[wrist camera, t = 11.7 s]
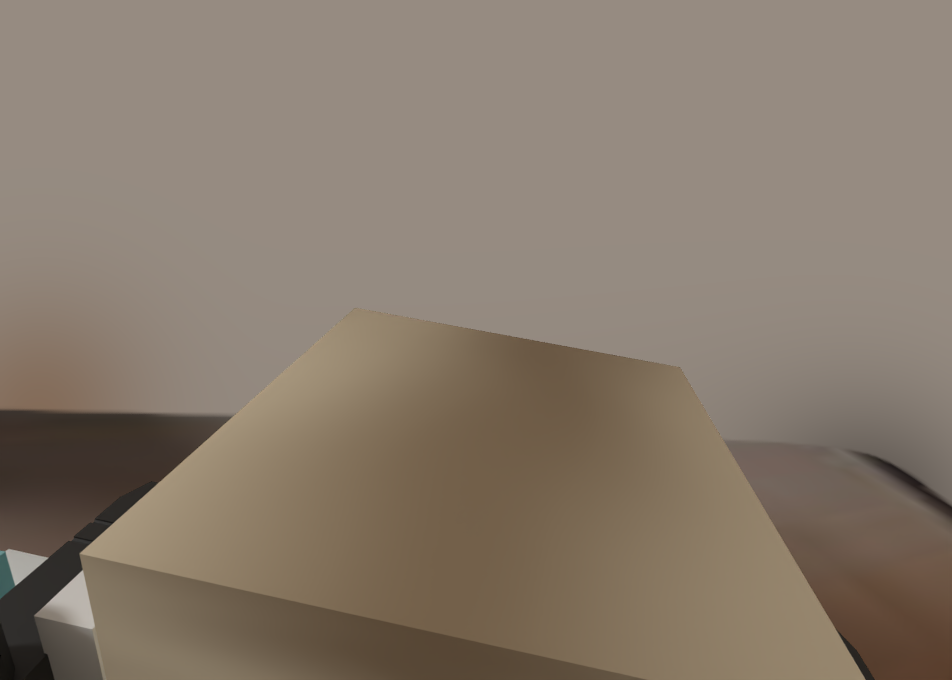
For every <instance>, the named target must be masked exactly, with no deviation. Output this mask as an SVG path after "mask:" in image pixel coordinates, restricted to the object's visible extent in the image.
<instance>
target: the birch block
mask: <svg viewBox="0 0 952 680" xmlns="http://www.w3.org/2000/svg"><path fill="white" fill-rule="evenodd" d="M80 559H81V563H82V568H83V573H84V577H85V582H86V587H87V591H88V596H89V601H90V605H91V610H92V615H93V619H94V624H95V629H96V633H97V638H98V643H99V647H100V652H101V656H102V661H103V666H104V670H105V675H106V680H866V679H865V678H864V676H863V674H862V673H861V671H860V669H859V668H858V666H857V664H856V663H855V661H854V659H853V658H852V656H851V654H850V653H849V651H848V649H847V647H846V646H845V644H844V642H843V641H842V639H841V637H840V636H839V634H838V632H837V631H836V629H835V627H834V626H833V624H832V622H831V621H830V619H829V617H828V616H827V614H826V612H825V610H824V609H823V607H822V605H821V604H820V602H819V600H818V599H817V597H816V595H815V594H814V592H813V590H812V589H811V587H810V585H809V584H808V582H807V580H806V579H805V577H804V575H803V573H802V572H801V570H800V568H799V567H798V565H797V563H796V562H795V560H794V558H793V557H792V555H791V553H790V552H789V550H788V548H787V547H786V545H785V543H784V542H783V540H782V538H781V536H780V535H779V533H778V531H777V530H776V528H775V526H774V525H773V523H772V521H771V520H770V518H769V516H768V515H767V513H766V511H765V510H764V508H763V506H762V505H761V503H760V501H759V499H758V498H757V496H756V494H755V493H754V491H753V489H752V488H751V486H750V484H749V483H748V481H747V479H746V478H745V476H744V474H743V473H742V471H741V469H740V468H739V466H738V464H737V462H736V461H735V459H734V457H733V456H732V454H731V452H730V451H729V449H728V447H727V446H726V444H725V442H724V441H723V439H722V437H721V436H720V434H719V432H718V431H717V429H716V427H715V426H714V424H713V422H712V420H711V419H710V417H709V416H708V414H707V412H706V410H705V409H704V407H703V405H702V404H701V402H700V400H699V399H698V397H697V395H696V394H695V392H694V390H693V388H692V387H691V385H690V384H689V382H688V380H687V378H686V377H685V375H684V374H683V372H682V370H681V368H680V367H676V366H670V365H665V364H659V363H654V362H648V361H643V360H638V359H632V358H626V357H621V356H615V355H610V354H604V353H599V352H593V351H588V350H582V349H577V348H572V347H567V346H561V345H555V344H550V343H545V342H539V341H534V340H528V339H523V338H517V337H512V336H507V335H501V334H496V333H489V332H485V331H479V330H474V329H468V328H463V327H457V326H452V325H447V324H441V323H436V322H430V321H424V320H419V319H414V318H408V317H403V316H397V315H391V314H386V313H381V312H376V311H370V310H365V309H359V308H354V309H353V310H352V311H351V312H350V313H349V314H348V315H346V316H345V317H344V318H343V319H342V320H341V321H340V322H339V323H337V324H336V325H335V326H334V327H333V328H332V329H331V330H330V331H328V332H327V333H326V334H325V335H324V336H323V337H322V338H321V339H320V340H318V341H317V342H316V343H315V344H314V345H313V346H312V347H311V348H309V349H308V350H307V351H306V352H305V353H304V354H303V355H302V356H301V357H299V358H298V359H297V360H296V361H295V362H294V363H293V364H291V365H290V366H289V367H288V368H287V369H286V370H285V371H284V372H282V374H280V375H279V376H278V377H277V378H276V379H275V380H274V381H272V382H271V383H270V384H269V385H268V386H267V387H266V388H265V389H263V391H261V392H260V393H259V394H258V395H257V396H256V397H254V399H252V400H251V401H250V402H249V403H248V404H247V405H245V406H244V407H243V408H242V409H241V410H240V411H239V412H238V413H237V414H235V415H234V416H233V417H232V418H231V419H230V420H229V421H228V422H226V423H225V424H224V425H223V426H222V427H221V428H220V429H219V430H217V431H216V432H215V433H214V434H213V435H212V436H211V437H210V438H208V439H207V440H206V441H205V442H204V443H203V444H202V445H201V446H200V447H198V448H197V449H196V450H195V451H194V452H193V453H192V454H191V455H189V456H188V457H187V458H186V459H185V460H184V461H183V462H182V463H180V464H179V465H178V466H177V467H176V468H175V469H174V470H173V471H171V472H170V473H169V474H168V475H167V476H166V477H165V478H164V479H163V480H161V481H160V482H159V483H158V484H157V485H156V486H155V487H154V488H152V489H151V490H150V491H149V492H148V493H147V494H146V495H145V496H143V497H142V498H141V499H140V500H139V501H138V502H137V503H136V504H134V505H133V506H132V507H131V508H130V509H129V510H128V511H127V512H126V513H124V514H123V515H122V516H121V517H120V518H119V519H118V520H117V521H115V522H114V523H113V524H112V525H111V526H110V527H109V528H108V529H106V530H105V531H104V532H103V533H102V534H101V535H100V536H99V537H98V538H96V539H95V540H94V541H93V542H92V543H91V544H90V545H89V546H87V547H86V548H85V549H84V550H83V551H82V552H81V553H80Z"/></svg>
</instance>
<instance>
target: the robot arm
mask: <svg viewBox="0 0 952 680" xmlns="http://www.w3.org/2000/svg"><path fill="white" fill-rule="evenodd" d="M157 484H158V483H157V482H152V481H151V482H149V483H147V484H145V485H143V486H141V487H139V488H137V489H135V490H133V491H131V492H129V493H128V494H126V495H124V496H122V497H120V498H119V499H117V500H116V501H115V502H114V503H113V504H112V505H110V506H109V507H108V508H107V509H106V510H104V511H103V512H102V513H101V514H100V515H99V516H97V517H96V518H95V521H94V522H93V523H89V524H88V525H87V526H86V527H84V528H83V529H82V530H81V531H80V532H79V533H77V534H76V535H75V536H74V539H73V540H72V541H68V542H67V543H66V544H64V545H63V546H62V547H61V548H60V549H58V550H57V551H56V552H55V553H54V554H53V555H51V556H50V557H49V558H48V559H47V560H45V561H44V562H43V563H42V564H41V565H40V566H38V567H37V568H36V569H35V570H34V571H32V572H31V573H30V574H29V575H28V576H27V577H25V578H24V579H23V580H22V581H21V582H20V583H18V584H17V585H16V586H15V587H14V588H12V589H11V590H10V591H9V592H8V593H7V594H5V595H4V596H3V597H2V598H1V599H0V680H106V675H105V670H104V666H103V661H102V656H101V652H100V647H99V643H98V638H97V633H96V629H95V624H94V619H93V615H92V610H91V605H90V601H89V596H88V591H87V587H86V582H85V577H84V573H83V568H82V563H81V559H80V553H81V552H82V551H83V550H84V549H85V548H86V547H87V546H89V545H90V544H91V543H92V542H93V541H94V540H95V539H96V538H98V537H99V536H100V535H101V534H102V533H103V532H104V531H105V530H106V529H108V528H109V527H110V526H111V525H112V524H113V523H114V522H115V521H117V520H118V519H119V518H120V517H121V516H122V515H123V514H124V513H126V512H127V511H128V510H129V509H130V508H131V507H132V506H133V505H134V504H136V503H137V502H138V501H139V500H140V499H141V498H142V497H143V496H145V495H146V494H147V493H148V492H149V491H150V490H151V489H152V488H154V487H155V486H156V485H157ZM836 631H837V630H836ZM837 632H838V631H837ZM838 634H839V636H840V637H841V639H842V641H843V642H844V644H845V646H846V647H847V649H848V651H849V653H850V654H851V656H852V658H853V659H854V661H855V663H856V664H857V666H858V668H859V669H860V671H861V673H862V674H863V676H864V678H865V679H866V680H875V679H874V678H873V676H872V675H871V673H870V671H869V670H868V668H867V666H866V665H865V663H864V662H863V660H862V658H861V657H860V655H859V653H858V652H857V650H856V649H855V648H854V647H853V646H852V645H851V644H850V643H849V642H848V641H847V640H846V639H845V638H844V637H843V636H842V635H841V634H840V633H839V632H838Z"/></svg>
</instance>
